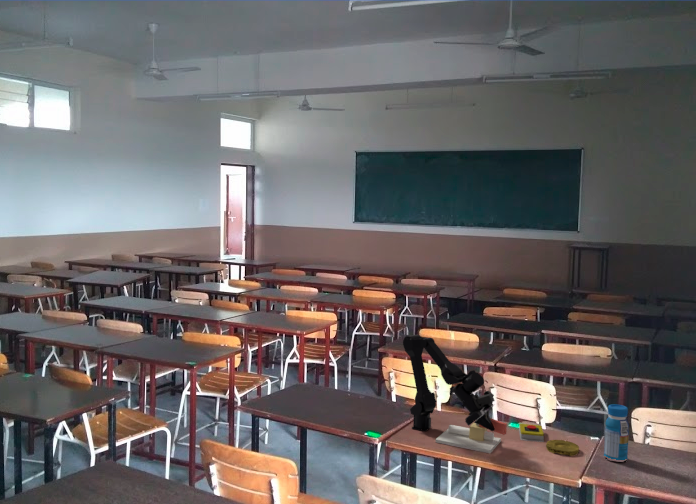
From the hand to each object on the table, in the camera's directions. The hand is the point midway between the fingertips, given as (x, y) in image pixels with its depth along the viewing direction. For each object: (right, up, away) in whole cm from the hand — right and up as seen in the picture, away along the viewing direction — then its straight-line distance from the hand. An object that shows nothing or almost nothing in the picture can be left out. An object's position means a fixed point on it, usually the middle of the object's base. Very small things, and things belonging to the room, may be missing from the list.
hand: (493, 430), depth 241 cm
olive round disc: (+27, -9, +2) cm, 28 cm away
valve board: (-8, -7, +8) cm, 13 cm away
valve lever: (0, -1, +4) cm, 4 cm away
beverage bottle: (+44, -9, -7) cm, 45 cm away
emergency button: (+20, -8, +18) cm, 28 cm away
